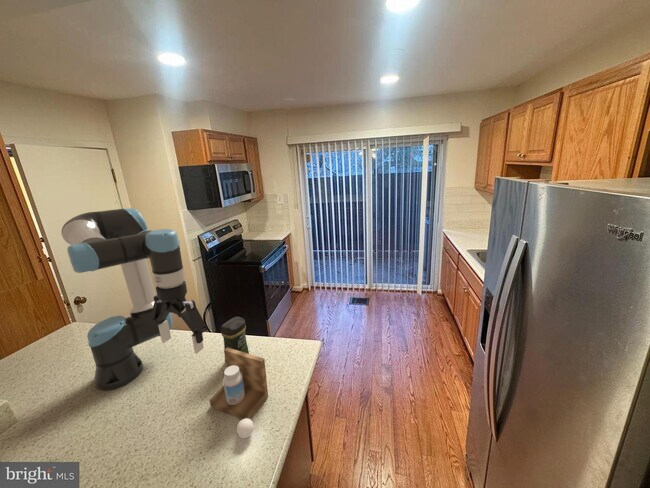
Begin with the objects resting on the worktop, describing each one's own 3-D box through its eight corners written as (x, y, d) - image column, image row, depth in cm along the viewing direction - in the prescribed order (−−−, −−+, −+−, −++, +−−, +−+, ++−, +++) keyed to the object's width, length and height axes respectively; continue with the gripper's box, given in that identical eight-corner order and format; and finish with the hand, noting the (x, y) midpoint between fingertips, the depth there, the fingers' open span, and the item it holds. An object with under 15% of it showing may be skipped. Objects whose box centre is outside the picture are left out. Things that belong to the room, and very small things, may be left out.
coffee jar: (236, 370, 104) (231, 329, 99) (222, 364, 108) (216, 325, 103) (252, 355, 113) (248, 317, 108) (238, 350, 116) (233, 313, 111)
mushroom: (241, 426, 81) (240, 413, 80) (256, 427, 81) (255, 414, 79) (235, 442, 76) (233, 429, 75) (250, 443, 76) (249, 430, 75)
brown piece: (210, 406, 88) (203, 367, 84) (232, 383, 98) (227, 347, 93) (249, 422, 82) (243, 381, 78) (268, 396, 92) (264, 358, 87)
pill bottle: (248, 393, 89) (245, 366, 86) (236, 408, 84) (231, 379, 81) (235, 388, 92) (231, 361, 89) (222, 401, 86) (217, 373, 83)
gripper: (128, 281, 76) (142, 343, 82) (193, 296, 67) (204, 363, 73) (152, 272, 83) (164, 329, 89) (214, 284, 74) (222, 347, 80)
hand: (182, 345), depth 81 cm, fingers open, 13 cm apart
